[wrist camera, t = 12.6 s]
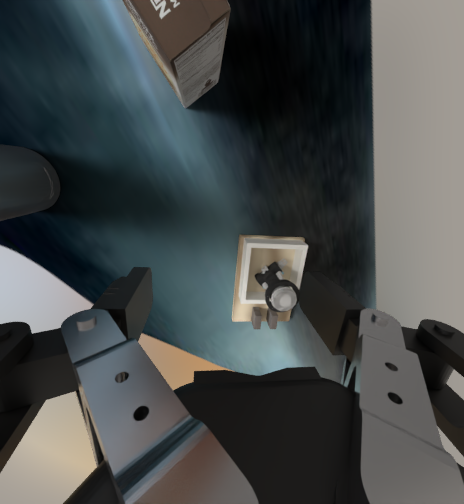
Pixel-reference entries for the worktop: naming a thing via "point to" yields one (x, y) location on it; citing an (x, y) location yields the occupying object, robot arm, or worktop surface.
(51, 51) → the worktop surface
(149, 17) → the coffee box
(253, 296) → the white open box
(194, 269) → the worktop surface
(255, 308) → the board
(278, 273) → the push button
